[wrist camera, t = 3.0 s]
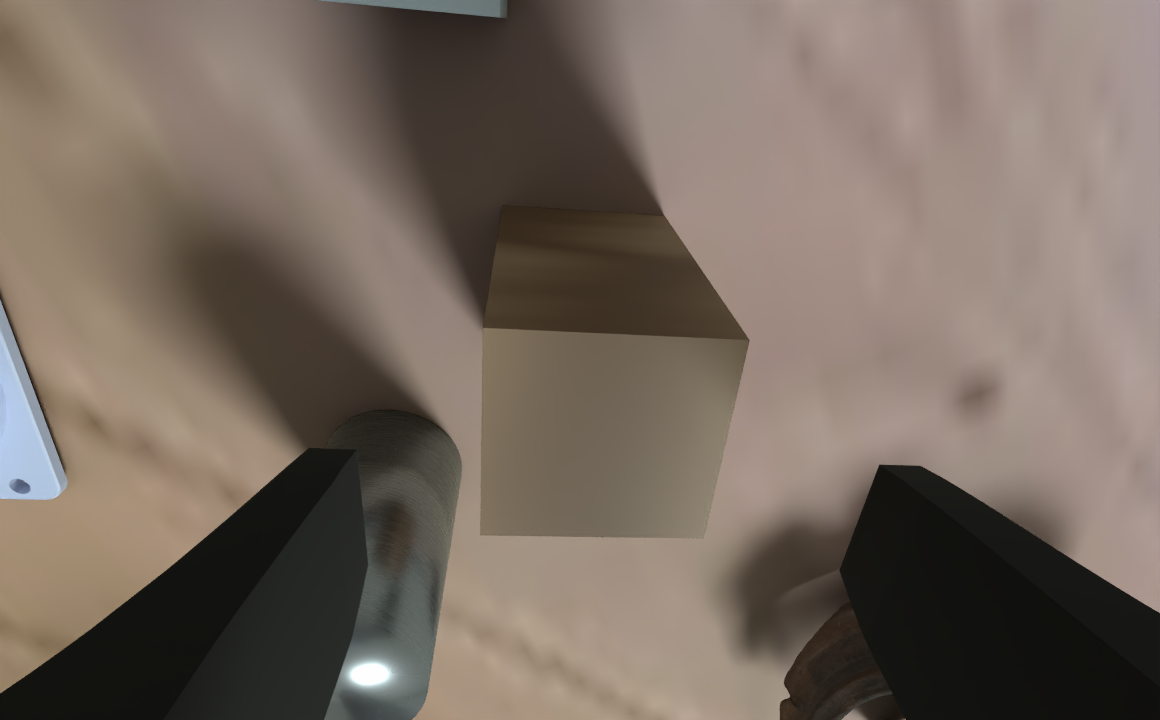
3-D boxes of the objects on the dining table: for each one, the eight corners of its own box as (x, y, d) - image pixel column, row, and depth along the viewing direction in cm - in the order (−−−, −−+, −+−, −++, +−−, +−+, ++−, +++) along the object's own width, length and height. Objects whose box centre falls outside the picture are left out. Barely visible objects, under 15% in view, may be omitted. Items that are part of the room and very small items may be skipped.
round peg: (331, 517, 20) (238, 746, 13) (316, 407, 18) (200, 614, 11) (462, 519, 20) (430, 743, 14) (461, 412, 18) (424, 615, 12)
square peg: (498, 351, 17) (479, 535, 11) (502, 205, 15) (482, 327, 9) (643, 357, 18) (703, 538, 11) (664, 215, 16) (749, 340, 10)
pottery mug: (809, 747, 28) (811, 926, 20) (755, 544, 28) (736, 647, 20) (1139, 741, 24) (1300, 963, 16) (1079, 500, 24) (1214, 610, 16)
